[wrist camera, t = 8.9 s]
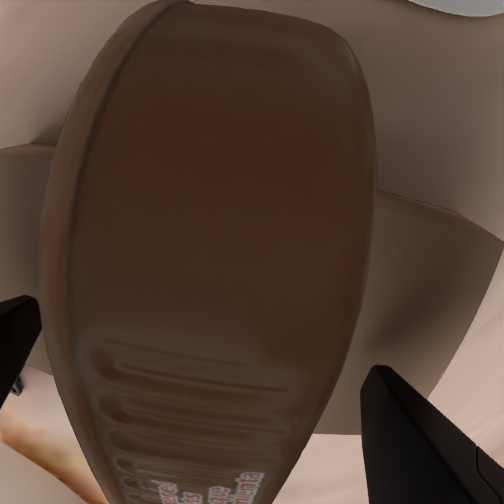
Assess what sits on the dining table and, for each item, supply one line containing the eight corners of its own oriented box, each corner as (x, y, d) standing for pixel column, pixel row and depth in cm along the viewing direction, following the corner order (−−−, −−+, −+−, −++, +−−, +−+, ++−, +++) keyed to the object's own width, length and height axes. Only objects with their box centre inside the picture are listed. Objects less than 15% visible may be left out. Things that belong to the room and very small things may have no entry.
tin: (212, 55, 8) (37, -108, 1) (315, 71, 8) (476, -88, 1) (176, 409, 14) (134, 561, 6) (239, 421, 14) (222, 579, 6)
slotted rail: (43, 318, 12) (9, 356, 10) (28, 143, 9) (-26, 155, 7) (384, 383, 13) (401, 433, 10) (456, 212, 10) (505, 242, 7)
